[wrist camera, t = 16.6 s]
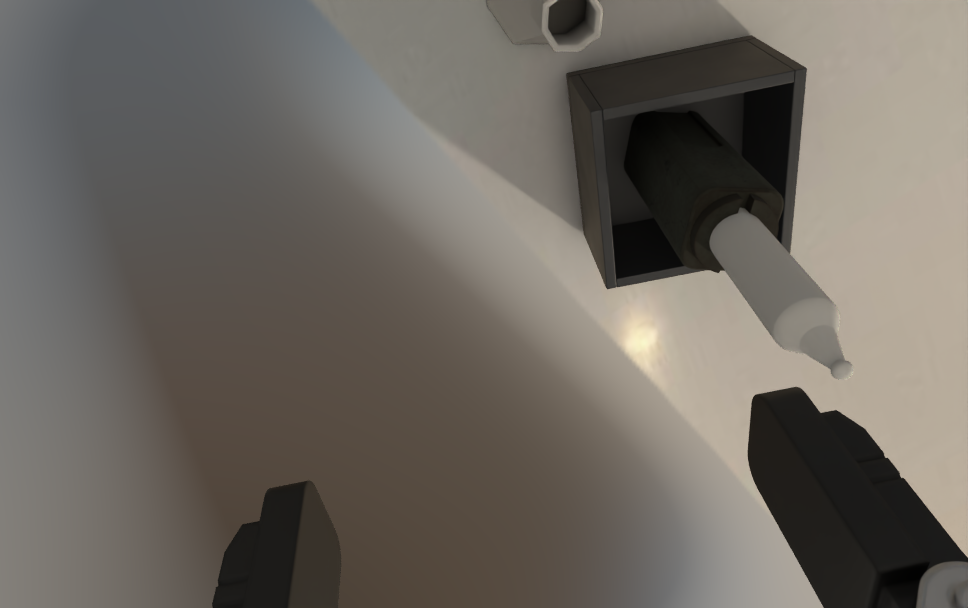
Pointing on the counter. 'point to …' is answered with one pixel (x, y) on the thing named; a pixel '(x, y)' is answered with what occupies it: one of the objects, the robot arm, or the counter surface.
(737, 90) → the bin
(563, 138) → the counter surface
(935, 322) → the counter surface
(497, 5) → the flask
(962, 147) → the counter surface
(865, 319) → the counter surface
